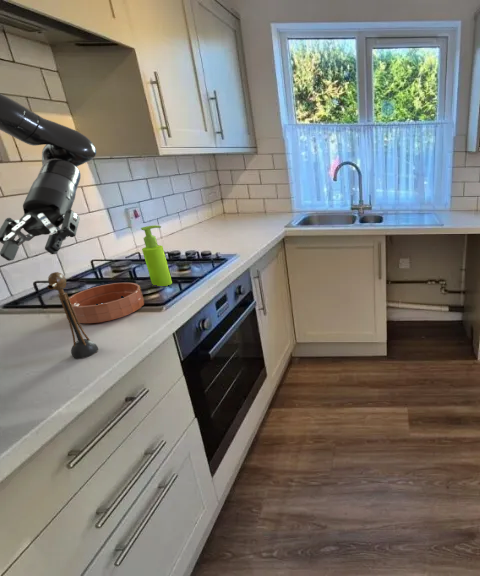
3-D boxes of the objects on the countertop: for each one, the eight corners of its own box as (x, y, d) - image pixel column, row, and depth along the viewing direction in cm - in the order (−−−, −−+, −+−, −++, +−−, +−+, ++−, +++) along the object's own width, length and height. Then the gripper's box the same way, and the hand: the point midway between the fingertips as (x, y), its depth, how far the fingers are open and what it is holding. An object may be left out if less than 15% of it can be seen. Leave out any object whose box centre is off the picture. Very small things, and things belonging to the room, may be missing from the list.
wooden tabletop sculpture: (92, 358, 82) (60, 276, 74) (67, 363, 80) (32, 279, 73) (100, 345, 87) (71, 267, 79) (77, 349, 86) (45, 270, 78)
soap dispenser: (178, 282, 125) (163, 225, 117) (156, 289, 120) (139, 229, 112) (171, 279, 128) (156, 223, 120) (150, 284, 123) (133, 227, 116)
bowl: (79, 331, 94) (72, 312, 92) (67, 312, 105) (60, 295, 102) (153, 309, 105) (147, 292, 103) (135, 294, 116) (130, 278, 114)
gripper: (3, 190, 78) (-27, 249, 70) (71, 181, 79) (50, 238, 71) (32, 214, 85) (8, 270, 77) (95, 205, 86) (78, 260, 78)
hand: (28, 255), depth 74 cm, fingers open, 8 cm apart
